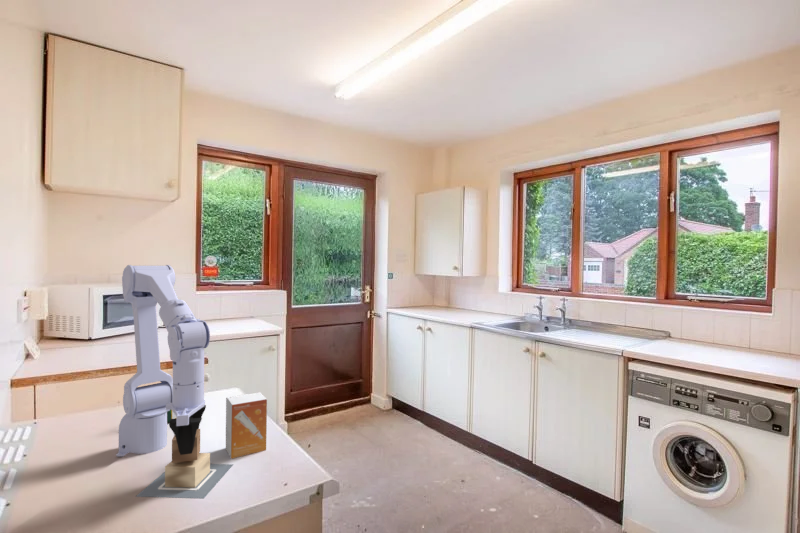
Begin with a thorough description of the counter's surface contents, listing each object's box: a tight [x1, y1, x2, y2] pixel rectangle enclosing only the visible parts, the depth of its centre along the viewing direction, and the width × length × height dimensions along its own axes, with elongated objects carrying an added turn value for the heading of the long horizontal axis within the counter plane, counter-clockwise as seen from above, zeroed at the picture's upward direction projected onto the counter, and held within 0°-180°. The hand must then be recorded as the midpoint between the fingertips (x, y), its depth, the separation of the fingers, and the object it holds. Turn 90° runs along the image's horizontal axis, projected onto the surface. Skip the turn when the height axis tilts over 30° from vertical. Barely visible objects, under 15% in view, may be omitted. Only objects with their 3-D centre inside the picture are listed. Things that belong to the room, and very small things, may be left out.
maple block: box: [164, 452, 211, 488], centre depth 85 cm, size 6×6×4 cm
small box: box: [225, 391, 268, 459], centre depth 98 cm, size 8×6×13 cm
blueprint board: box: [135, 463, 234, 499], centre depth 85 cm, size 13×13×1 cm
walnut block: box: [171, 428, 201, 463], centre depth 84 cm, size 4×4×4 cm
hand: (188, 448), depth 85 cm, fingers closed on walnut block, 4 cm apart
